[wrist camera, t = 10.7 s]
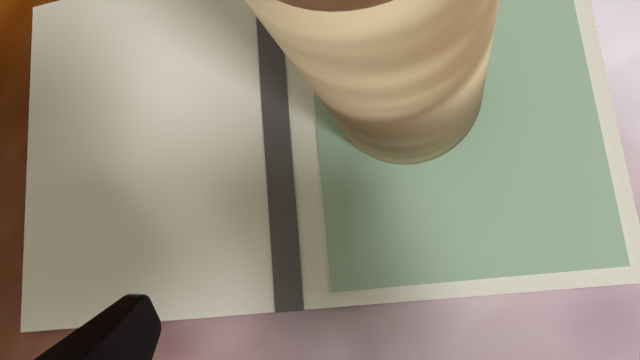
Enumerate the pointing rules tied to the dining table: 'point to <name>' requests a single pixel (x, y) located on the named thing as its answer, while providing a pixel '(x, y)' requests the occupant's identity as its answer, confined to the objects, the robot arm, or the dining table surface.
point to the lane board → (304, 172)
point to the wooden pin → (390, 67)
